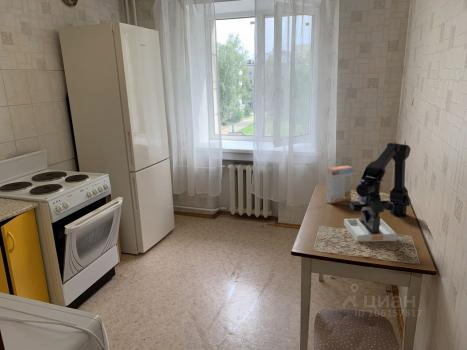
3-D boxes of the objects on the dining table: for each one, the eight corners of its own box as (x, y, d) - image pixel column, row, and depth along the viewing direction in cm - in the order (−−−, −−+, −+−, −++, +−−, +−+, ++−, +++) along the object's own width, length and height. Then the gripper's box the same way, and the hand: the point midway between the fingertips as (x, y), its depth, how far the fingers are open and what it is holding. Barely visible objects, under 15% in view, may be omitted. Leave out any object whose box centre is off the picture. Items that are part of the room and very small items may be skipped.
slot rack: (379, 223, 171) (380, 217, 170) (397, 241, 153) (398, 234, 152) (343, 224, 171) (344, 218, 170) (356, 241, 153) (357, 235, 152)
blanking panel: (366, 221, 168) (368, 206, 166) (378, 233, 155) (380, 217, 153) (360, 221, 168) (362, 206, 166) (372, 234, 155) (373, 217, 153)
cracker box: (344, 197, 208) (347, 164, 203) (351, 201, 203) (353, 167, 197) (325, 200, 204) (326, 167, 198) (330, 204, 199) (332, 169, 193)
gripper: (358, 197, 149) (356, 230, 153) (401, 197, 149) (397, 229, 153) (350, 189, 160) (348, 220, 164) (390, 188, 160) (386, 219, 164)
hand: (369, 222), depth 161 cm, fingers closed on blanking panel, 3 cm apart
